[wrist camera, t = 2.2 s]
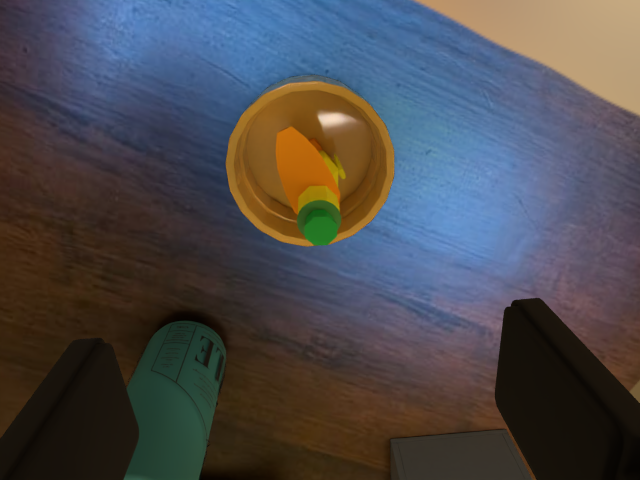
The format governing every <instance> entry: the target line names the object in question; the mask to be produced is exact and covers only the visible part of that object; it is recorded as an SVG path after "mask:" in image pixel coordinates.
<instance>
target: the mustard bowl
mask: <svg viewBox="0 0 640 480" xmlns="http://www.w3.org/2000/svg"><path fill="white" fill-rule="evenodd" d="M287 127H293V128H295V129H296V130H297V131H298V132H300V133H301V134H302V135H304V136H305V137H306V138H307V139H308V140H310V139H313V138H315V139H316V140H317V141H318V142H319V143H320V144H321V147H322V149H323V151H324V152H325V153H327V154H328V155H329V156H330V157H331V158H332V159H333V160H334V153H335V154H336V156H337V157H338V159H339V161H340V163H341V165H342V167H343V170H344V172H345V174H346V178H345V179H342V178H341V177H340V176H339V174H338V189H339V191H340V206H339V208H340V215H341V225H340V227H339V229H338V231H337V237H336V238H335V239H334V240H333V241H331V242H330V243H329V244H332V243H335V242H337V241H340V240H342V239H345V238H348V237H350V236H352V235H354V234H355V233H357V232H358V231H359V230H361V229H362V228H363V227H364V226H366V225H367V224H368V223H370V222H371V221H372V220H373V219H374V217H375V216H376V214H377V213H378V211H379V210H380V209H381V207H382V206H383V204H384V203H385V202H386V200H387V197H388V194H389V191H390V188H391V185H392V182H393V179H394V148H393V145H392V142H391V139H390V136H389V133H388V130H387V127H386V125H385V123H384V122H383V121H382V119H381V118H380V117H379V116H378V114H377V113H376V112H375V110H374V109H373V108H372V106H371V105H370V104H369V103H368V102H367V101H366V100H365V99H364V98H363V97H362V96H361V95H360V94H359V93H357V92H356V91H354V90H353V89H351V88H350V87H348V86H347V85H345V84H344V83H342V82H340V81H338V80H335V79H331V78H327V77H323V76H319V75H303V76H292V77H289V78H286V79H284V80H282V81H280V82H277V83H275V84H273V85H271V86H269V87H267V88H266V89H265V90H264V91H263V92H262V93H261V94H260V95H259V96H258V97H257V98H256V99H254V100H253V101H252V102H251V104H250V105H249V106H248V107H247V109H246V110H245V111H244V113H243V114H242V116H241V117H240V119H239V121H238V123H237V125H236V127H235V129H234V130H233V132H232V134H231V136H230V139H229V145H228V151H227V157H226V170H227V176H228V182H229V189H230V191H231V193H232V195H233V197H234V199H235V201H236V203H237V205H238V207H239V208H240V210H241V212H242V213H243V214H244V215H245V216H246V217H247V218H248V219H249V220H250V221H251V222H252V223H253V224H254V225H255V226H256V227H257V228H258V229H259V230H260V231H262V232H264V233H266V234H268V235H270V236H272V237H273V238H275V239H277V240H279V241H281V242H286V243H290V244H295V245H300V246H314V245H313V244H312V243H311V242H309V241H308V240H307V239H306V238H305V236H304V235H303V234H302V233H301V232H300V230H299V229H298V226H297V216H298V215H297V214H296V213H294V211H293V209H292V206H291V204H290V202H289V200H288V198H287V196H286V194H285V191H284V188H283V185H282V182H281V179H280V176H279V173H278V169H277V160H276V138H277V133H278V132H279V131H281V130H283V129H284V128H287ZM329 244H328V245H329ZM315 246H317V245H315Z"/></svg>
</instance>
